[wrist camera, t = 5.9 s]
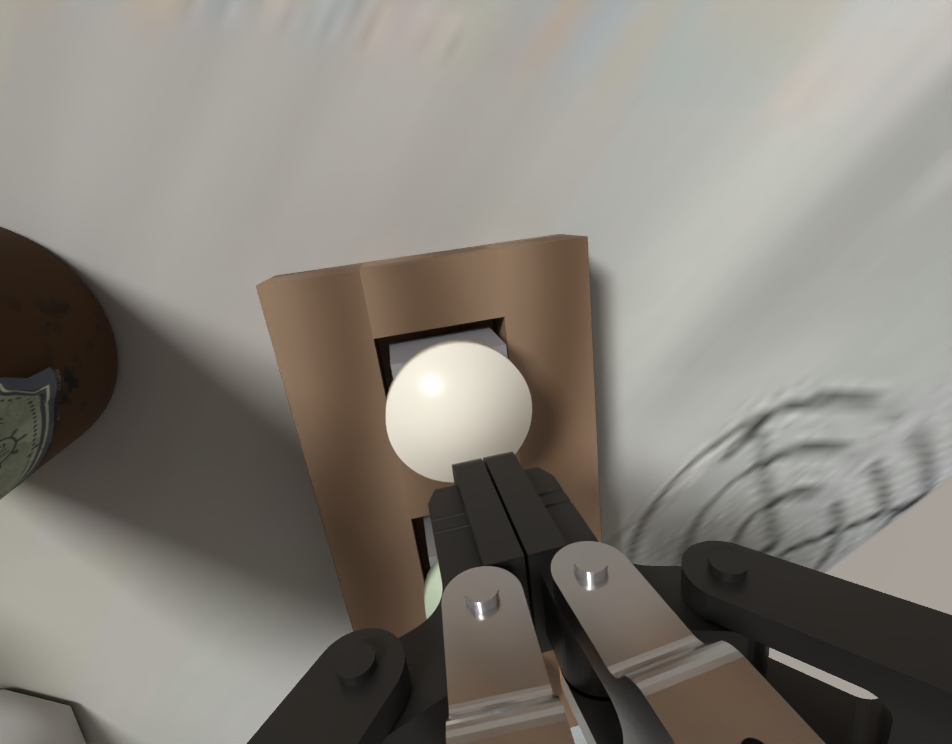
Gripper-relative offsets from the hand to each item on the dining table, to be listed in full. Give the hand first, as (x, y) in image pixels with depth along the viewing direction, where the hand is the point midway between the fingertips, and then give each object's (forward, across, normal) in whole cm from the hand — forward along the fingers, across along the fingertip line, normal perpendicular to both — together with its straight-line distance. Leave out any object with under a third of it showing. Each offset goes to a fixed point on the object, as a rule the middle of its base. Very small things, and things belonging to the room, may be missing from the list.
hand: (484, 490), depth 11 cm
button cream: (+8, 0, 0) cm, 9 cm away
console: (+10, 0, +8) cm, 13 cm away
